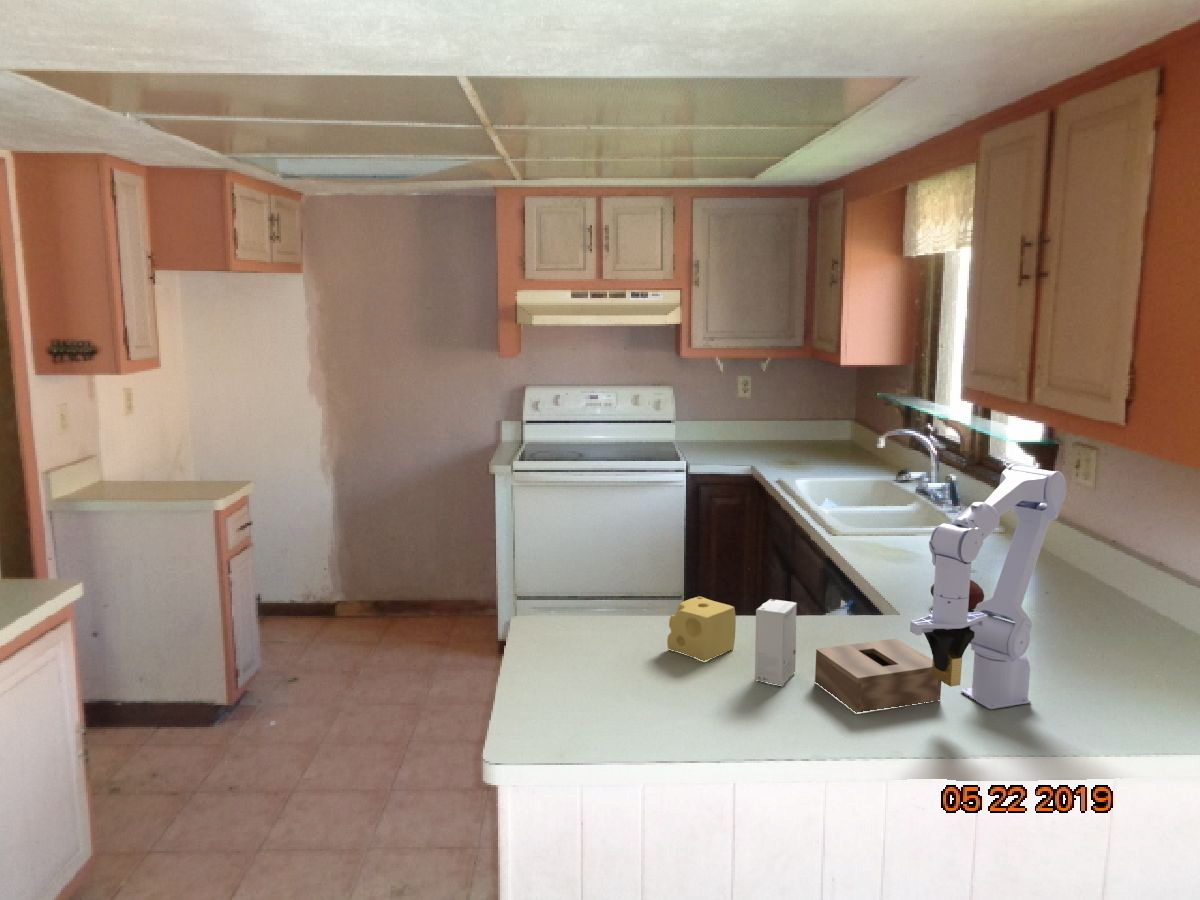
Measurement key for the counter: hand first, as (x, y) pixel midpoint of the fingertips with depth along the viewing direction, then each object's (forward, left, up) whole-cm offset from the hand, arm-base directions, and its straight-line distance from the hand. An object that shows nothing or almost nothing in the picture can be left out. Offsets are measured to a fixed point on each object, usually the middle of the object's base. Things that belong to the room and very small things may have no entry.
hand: (946, 668), depth 158 cm
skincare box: (+19, -26, -10) cm, 34 cm away
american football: (-41, -47, -10) cm, 63 cm away
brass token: (0, 0, -2) cm, 2 cm away
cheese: (+27, -43, -10) cm, 52 cm away
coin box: (+4, -14, -10) cm, 18 cm away
